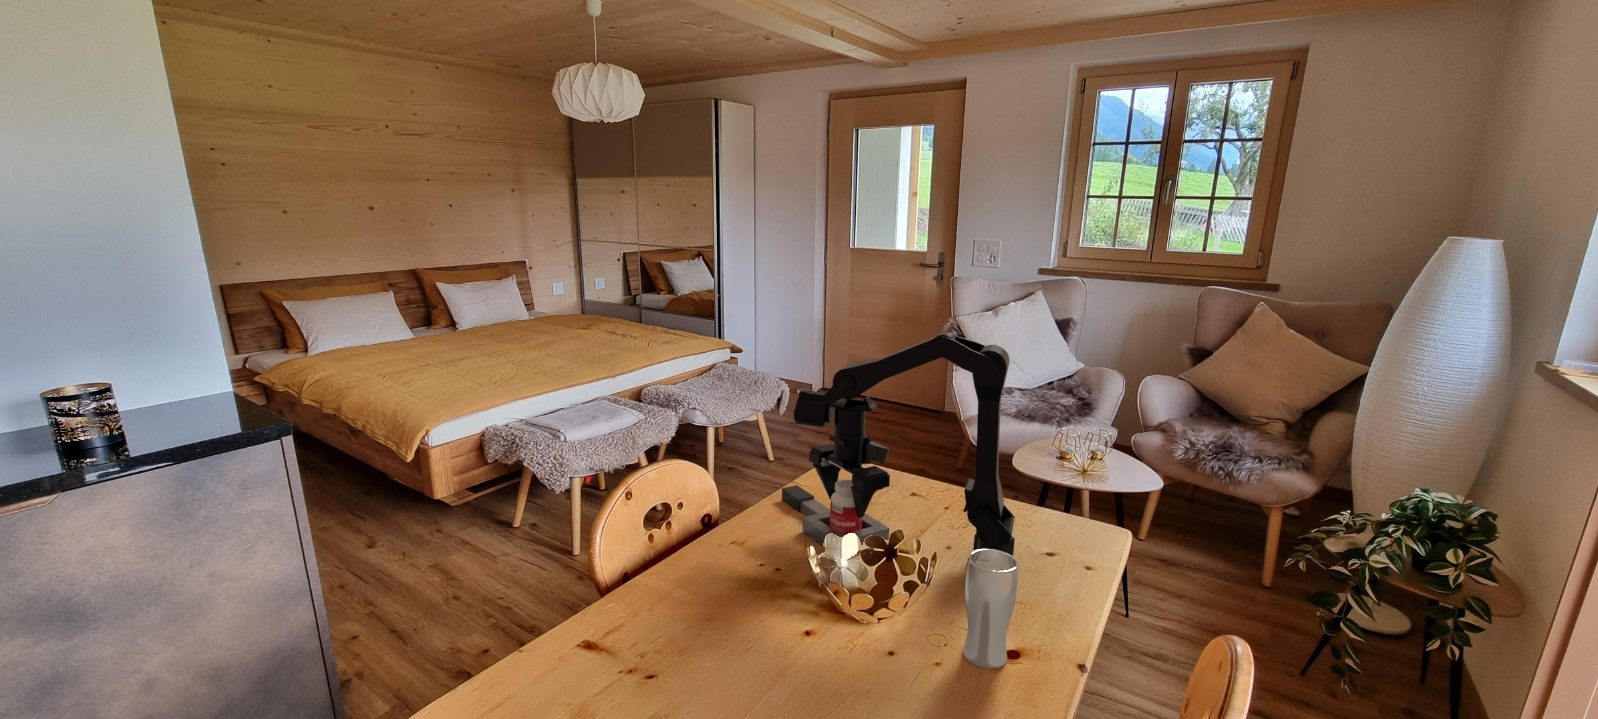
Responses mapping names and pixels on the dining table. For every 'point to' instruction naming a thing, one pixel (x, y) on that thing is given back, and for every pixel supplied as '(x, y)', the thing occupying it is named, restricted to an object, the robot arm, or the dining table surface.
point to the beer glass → (989, 606)
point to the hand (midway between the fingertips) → (846, 508)
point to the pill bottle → (844, 509)
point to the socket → (825, 517)
